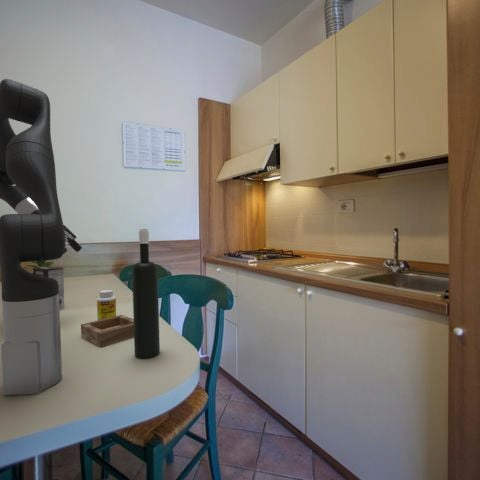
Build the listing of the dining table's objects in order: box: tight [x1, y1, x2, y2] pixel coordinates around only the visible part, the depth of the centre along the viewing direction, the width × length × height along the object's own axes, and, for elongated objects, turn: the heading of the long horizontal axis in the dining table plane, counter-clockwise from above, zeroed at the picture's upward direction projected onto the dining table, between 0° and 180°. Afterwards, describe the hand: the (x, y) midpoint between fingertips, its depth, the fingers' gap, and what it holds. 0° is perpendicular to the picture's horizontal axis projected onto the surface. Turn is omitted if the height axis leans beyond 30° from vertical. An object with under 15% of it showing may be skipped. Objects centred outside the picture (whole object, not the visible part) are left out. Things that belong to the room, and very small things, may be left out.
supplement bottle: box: [96, 289, 117, 321], centre depth 100 cm, size 6×6×10 cm
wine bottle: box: [131, 228, 161, 360], centre depth 73 cm, size 6×6×30 cm
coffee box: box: [32, 265, 65, 311], centre depth 117 cm, size 9×6×16 cm
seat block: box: [80, 314, 134, 348], centre depth 87 cm, size 12×12×4 cm
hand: (72, 251), depth 98 cm, fingers open, 8 cm apart
